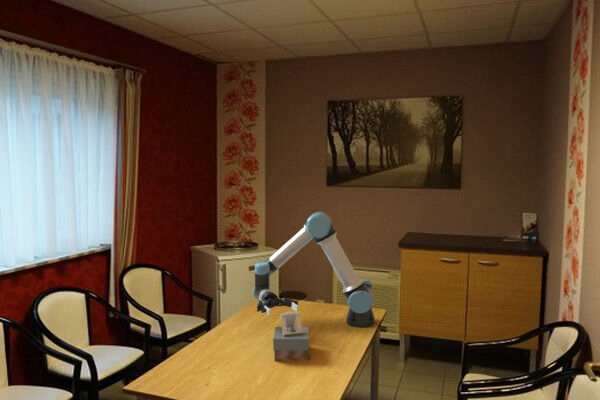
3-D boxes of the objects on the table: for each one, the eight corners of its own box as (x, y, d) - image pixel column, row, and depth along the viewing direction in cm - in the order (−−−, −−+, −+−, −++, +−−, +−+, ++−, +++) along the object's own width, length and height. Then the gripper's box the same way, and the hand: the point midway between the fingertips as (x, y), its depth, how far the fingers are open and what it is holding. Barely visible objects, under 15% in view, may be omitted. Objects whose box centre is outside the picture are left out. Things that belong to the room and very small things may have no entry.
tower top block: (308, 337, 223) (308, 326, 223) (308, 350, 208) (308, 338, 208) (275, 337, 223) (275, 327, 223) (273, 350, 208) (273, 338, 208)
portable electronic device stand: (283, 336, 211) (283, 317, 210) (279, 330, 218) (279, 312, 217) (302, 334, 213) (302, 315, 212) (297, 328, 221) (297, 310, 220)
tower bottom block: (307, 347, 224) (307, 337, 224) (309, 361, 209) (309, 349, 209) (274, 348, 224) (274, 337, 223) (274, 361, 209) (274, 350, 208)
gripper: (292, 303, 245) (309, 315, 226) (244, 309, 236) (257, 322, 216) (292, 288, 245) (309, 299, 225) (243, 294, 235) (257, 306, 216)
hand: (283, 310), depth 221 cm, fingers open, 13 cm apart
